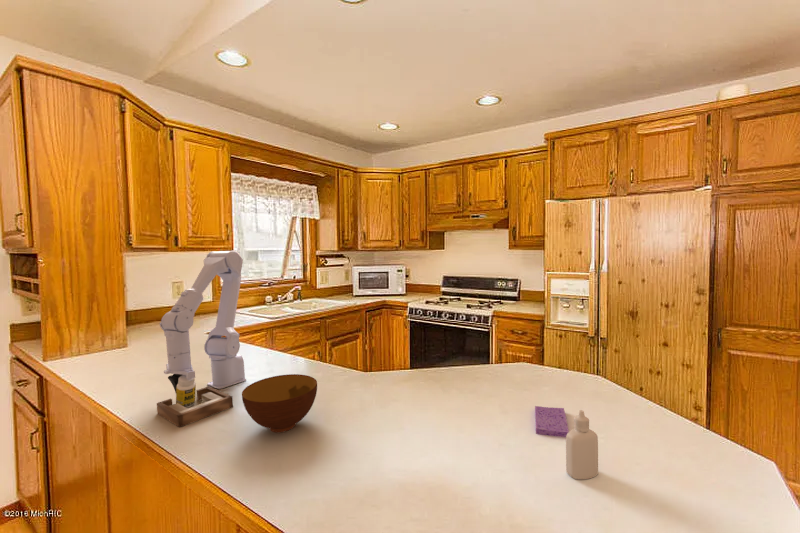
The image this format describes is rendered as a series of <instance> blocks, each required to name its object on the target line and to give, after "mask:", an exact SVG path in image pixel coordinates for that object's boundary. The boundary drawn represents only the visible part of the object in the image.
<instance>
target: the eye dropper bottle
mask: <svg viewBox="0 0 800 533" xmlns="http://www.w3.org/2000/svg"><path fill="white" fill-rule="evenodd" d="M573 418H574V419H573V420H574V421H573V423H574V427H573V428H572V429H571V430H569V432H568V434H567V435H566V437H565V460H566V461H565V467H566V470H565V471H566V473H567V474H568V476H570V477H571V478H572V479H574V480H589V479H592V478H595V477H596V476H597V475H598V474H599V440H598V439H599V436H598V433H596V432H595V431H594V430H592V429H590V419H589V417H587V416H585V411H584V410H582V409H580V410H579V412H578V415H575V416H574V417H573Z"/></svg>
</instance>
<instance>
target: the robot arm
mask: <svg viewBox="0 0 800 533" xmlns="http://www.w3.org/2000/svg"><path fill="white" fill-rule="evenodd" d="M243 261H244V258H242V255H241V254H240V253H239V252H238V251H236V250H233V249H232V250H225V251H215V250H213V251H209V252H208V254H207V255H206V257H205V258H204V259H203V267H202V268H201V270H200V272H199V274H198V275H197V277H196V279H195V281H194V283H193V284H192V286H191V288H187V289H184V291H182V292H181V293H180V297H179V298H178V299H177V301H176V303H175V304H174V305H173V306H172V307H171V310H170V311H167V312H166V313H165V314H164V315H163V316H162V317H161V320H160V322H159V327H160V328H161V330H162V331H163V333H164V337H165V339H166V342H165V343H166V354H167V363H166V364H165V366H166V369H165V370H164V371H163V374H165V375H169V374H171V375H169V376H168V377H167V379H168V381H169V382H170V383H171V385H172V387H173V389H174V391H175V392H174V393H176V387H177V384H178V379H179V377H180V376H182V375H184V376H185V377H186V379H188V380H189V379H192V378H196V370H194V369H193V368H194V367H193V365H192V360H191V359H192V357H191V343H190V329H191V327H193V324H194V317H195V313H196V311H197V310H198V309H199V307H200V305H201V303H202V302H203V300H204V296H203V293H204V292H205V291H206V289H207V288H208V287H209V285H210V284H211V282H212V281H213V280H214V278H215V277H216V276H218V277H220V278H221V280H222V286H221V293H220V298H219V305H218V310H217V317H216V322H215V323H216V324H215V327H214V328H213V329H211V330H210V331H209V332H208V336H207V339H206V340H205V342H204V344H203V345H204V346H203V347H204V349H203V350H204V353H205V354H206V355H207V356H208V359H210V366H211V377H212V378H211V380H212V381H211V382H207V384H206V385H207V386H209V387H211V388H214V389H216V390H222V389H225V388H227V387H230V386H233V385H235V384H240V383H243V382H245V381H247V378H246V375H245V361H244V360H245V359H244V358H243V355H241V354H240V353H239V351H240V346H241V344H240V333H238V331H236V330H235V328H234V327H235V322H236V321H235V320H236V314H237V307H238V300H239V295H240V288H241V282H242V269H243ZM224 336H225V337H224Z"/></svg>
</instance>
